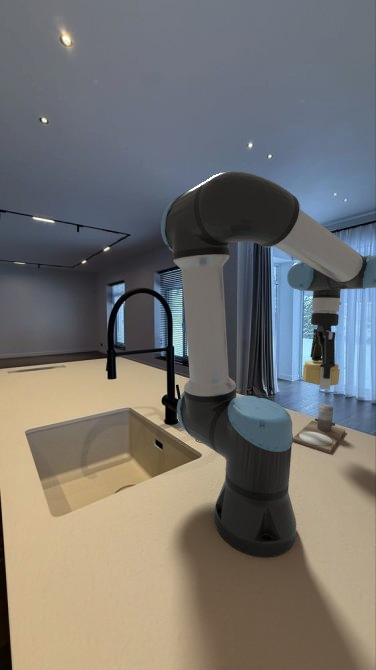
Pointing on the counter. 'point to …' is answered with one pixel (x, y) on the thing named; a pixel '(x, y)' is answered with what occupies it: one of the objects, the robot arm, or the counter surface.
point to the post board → (321, 431)
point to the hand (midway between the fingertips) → (319, 384)
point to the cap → (318, 373)
